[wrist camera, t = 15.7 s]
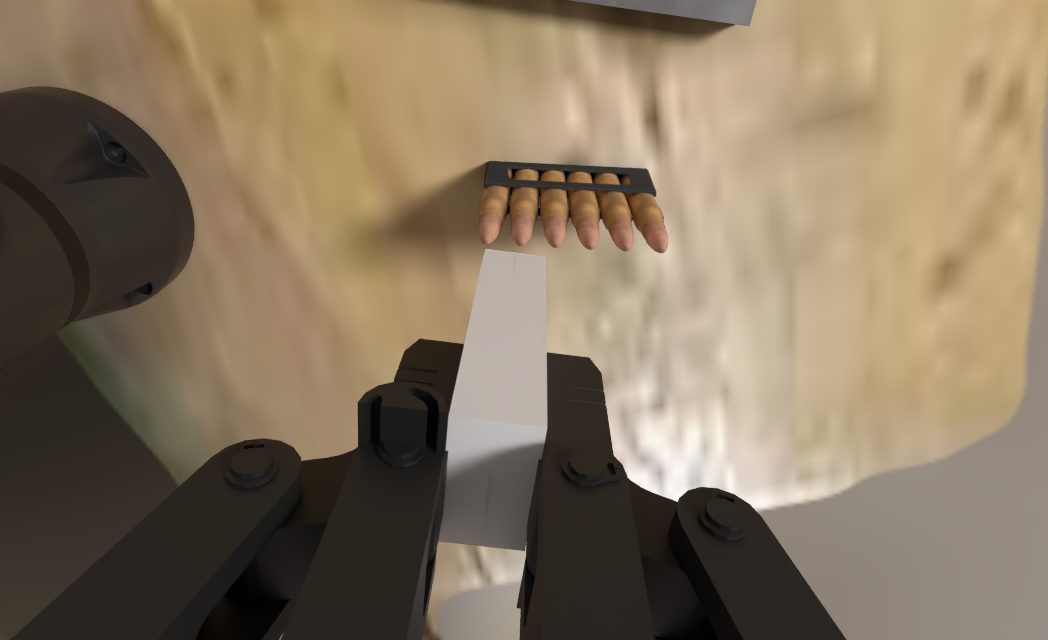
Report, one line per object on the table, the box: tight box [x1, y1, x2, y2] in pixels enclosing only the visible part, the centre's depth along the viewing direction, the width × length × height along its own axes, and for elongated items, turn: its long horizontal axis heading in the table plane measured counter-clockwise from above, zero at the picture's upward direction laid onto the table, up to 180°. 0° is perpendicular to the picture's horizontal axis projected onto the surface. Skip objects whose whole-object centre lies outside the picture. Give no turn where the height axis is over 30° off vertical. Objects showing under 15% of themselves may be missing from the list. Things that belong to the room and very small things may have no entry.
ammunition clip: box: [478, 161, 668, 253], centre depth 35 cm, size 11×2×12 cm, turn 88°
